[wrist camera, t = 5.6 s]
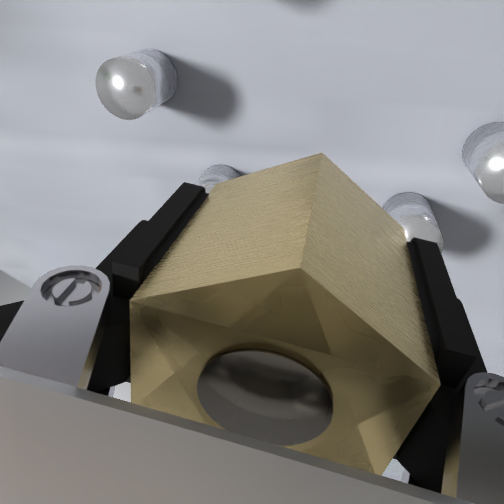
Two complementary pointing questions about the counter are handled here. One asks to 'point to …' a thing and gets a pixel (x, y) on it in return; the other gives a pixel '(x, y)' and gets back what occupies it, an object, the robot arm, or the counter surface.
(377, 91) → the counter surface
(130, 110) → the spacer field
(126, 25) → the counter surface
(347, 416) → the brass nut
